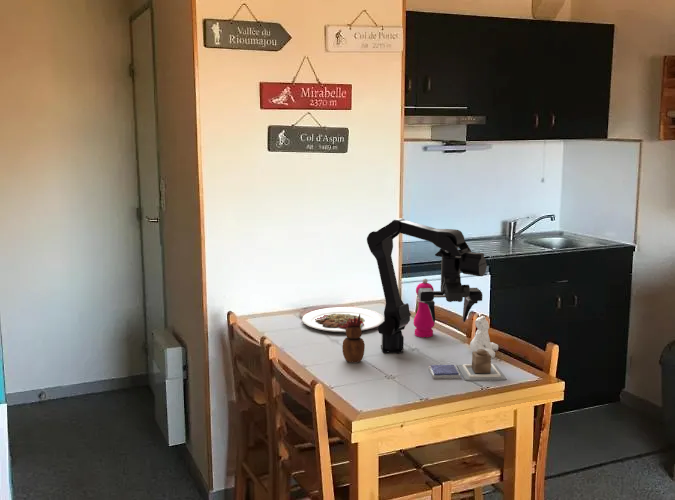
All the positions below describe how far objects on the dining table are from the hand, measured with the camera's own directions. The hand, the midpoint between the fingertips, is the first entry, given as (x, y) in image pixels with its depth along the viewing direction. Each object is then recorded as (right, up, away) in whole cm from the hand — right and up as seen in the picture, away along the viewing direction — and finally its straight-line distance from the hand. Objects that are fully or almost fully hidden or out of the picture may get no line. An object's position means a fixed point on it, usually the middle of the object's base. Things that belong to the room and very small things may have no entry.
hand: (448, 321), depth 219 cm
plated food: (-32, -5, +44) cm, 54 cm away
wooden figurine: (-29, -13, +3) cm, 32 cm away
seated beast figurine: (+13, -11, +11) cm, 20 cm away
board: (+8, -14, -7) cm, 18 cm away
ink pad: (-3, -15, -7) cm, 16 cm away
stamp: (+8, -14, -7) cm, 18 cm away
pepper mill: (-4, -8, +29) cm, 30 cm away
